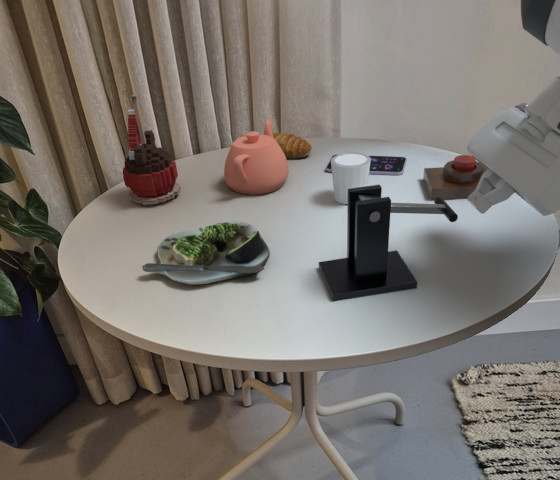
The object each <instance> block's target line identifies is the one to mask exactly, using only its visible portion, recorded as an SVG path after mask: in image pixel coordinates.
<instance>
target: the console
mask: <svg viewBox="0 0 560 480" xmlns="http://www.w3.org/2000/svg"><path fill="white" fill-rule="evenodd" d="M453 164H454V159H453V160H450V161H447V162H446V163H445V164H444V165H443V167H424V168H423V176H422V177H423V178H422V180H423V183H424V187H425V189H426V192H427V194H428V195H427V196H428V198H429V201H430V202H434V200H435V199H436V198H437V197H441V198H442V199H443V200H444V201H453V200H468V197H469V196H470V195H471V194H472V193H473V192H474V190H475V189H476V187H477V185H478V183H479V181H480V178H481V176H482V175H483V174H484V173H485V172H486V171H487V169H486V168H485V167H484V166H483V165H481V164H480V163H479V162H478V161H477V160H476V162H475V168H474V170H472V171H457V170H455V169H453ZM495 188H496V187H494V186H493V187H492V189H491V190H490V191H492V190H493V189H495Z"/></svg>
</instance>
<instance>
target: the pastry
mask: <svg viewBox="0 0 560 480" xmlns="http://www.w3.org/2000/svg"><path fill="white" fill-rule="evenodd" d="M272 134H273V138H274V139H275V140H276V142H277V143H278V145H279V146H280V148H281V149H282V151H283V153H284V155H285V157H286V159H291V160H292V159H294V160H297V159H299V158H305V157H307V156H308V155H310V154H311V152H312V149H313V146H312V144H310V143H309V142H308V141H307V140H306V139H304V138H301V136H296V134H294V133H288V132H283V133H280V132H272Z"/></svg>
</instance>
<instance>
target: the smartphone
mask: <svg viewBox="0 0 560 480" xmlns="http://www.w3.org/2000/svg"><path fill="white" fill-rule="evenodd" d="M339 154H340V153H339ZM339 154H333V155H331V156H330V158H329V160H328V162H327V164H326V166H325V171H326V172H328V173H332V168H331V159H332V158H333V157H334V156H336V155H339ZM368 156H369V157H370V158H371V162H370V170H369V175H388V176H389V175H391V176H399V175H402V174H404V173H405V172H404V171H405V167H406V164H407V162H408V161H407V157H406V156H395V155H394V156H393V155H392V156H391V155H368Z"/></svg>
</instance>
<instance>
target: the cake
mask: <svg viewBox="0 0 560 480" xmlns="http://www.w3.org/2000/svg"><path fill="white" fill-rule="evenodd" d="M130 98H131V103H132V106H133V109H131V108H130V109H128V110H127V113H126V116H127V136H128V145H129V147H128V148H129V150H128V156H127V157H126V158H125V161H124V162H123V163H124V167H123V168H122V179H123V183H124V186H126V188H129V189H130V191H129V193H128V198H130V200H131V201H133V202H134V203H136V204H142V205H158V204H159V203H165V202H166V201H170V200H171V199H174V198H175V197H176V196H179V195H180V191H181V185H179V183H178V182H177V178H178V177H179V173H178V168H177V162H176V161H175V160H174V158H172V156H171V154H169V151H167V150H165V148H163V147H162V146H161V147H157V145H156V142H155V141H156V137H155V133H154V132H153V129H152V130H144V125H143V120H142V116H141V112H140V108H139V103H138V99H137V95H136V94H132V95H131V96H130Z"/></svg>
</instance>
